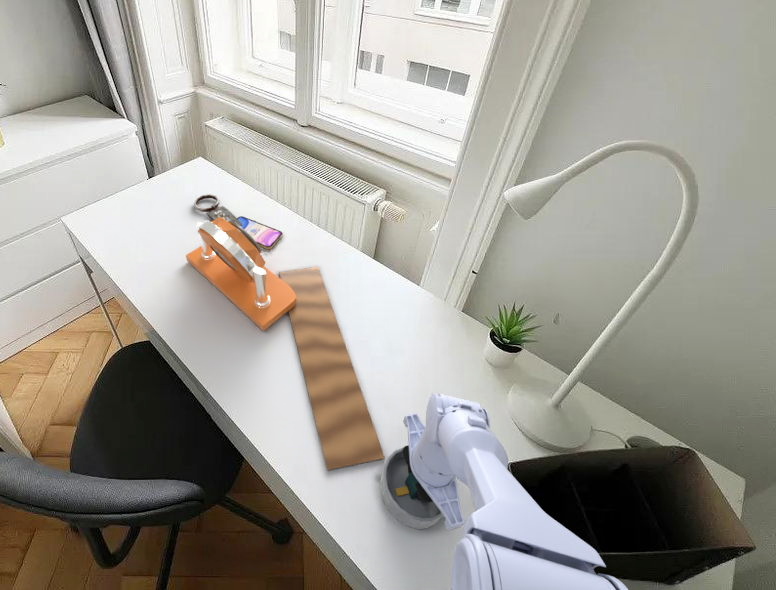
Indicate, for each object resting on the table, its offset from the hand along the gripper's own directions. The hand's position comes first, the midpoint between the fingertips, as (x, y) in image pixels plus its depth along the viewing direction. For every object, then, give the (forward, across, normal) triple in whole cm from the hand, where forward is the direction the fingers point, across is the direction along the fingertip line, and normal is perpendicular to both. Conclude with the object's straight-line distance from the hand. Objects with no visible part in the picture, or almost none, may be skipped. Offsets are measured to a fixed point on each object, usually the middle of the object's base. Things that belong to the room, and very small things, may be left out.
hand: (419, 486), depth 65 cm
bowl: (+2, 0, +1) cm, 2 cm away
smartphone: (+2, +66, +18) cm, 68 cm away
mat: (+2, +28, +9) cm, 29 cm away
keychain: (+2, +76, +28) cm, 81 cm away
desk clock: (+1, +49, +24) cm, 55 cm away
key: (+1, 0, 0) cm, 1 cm away
